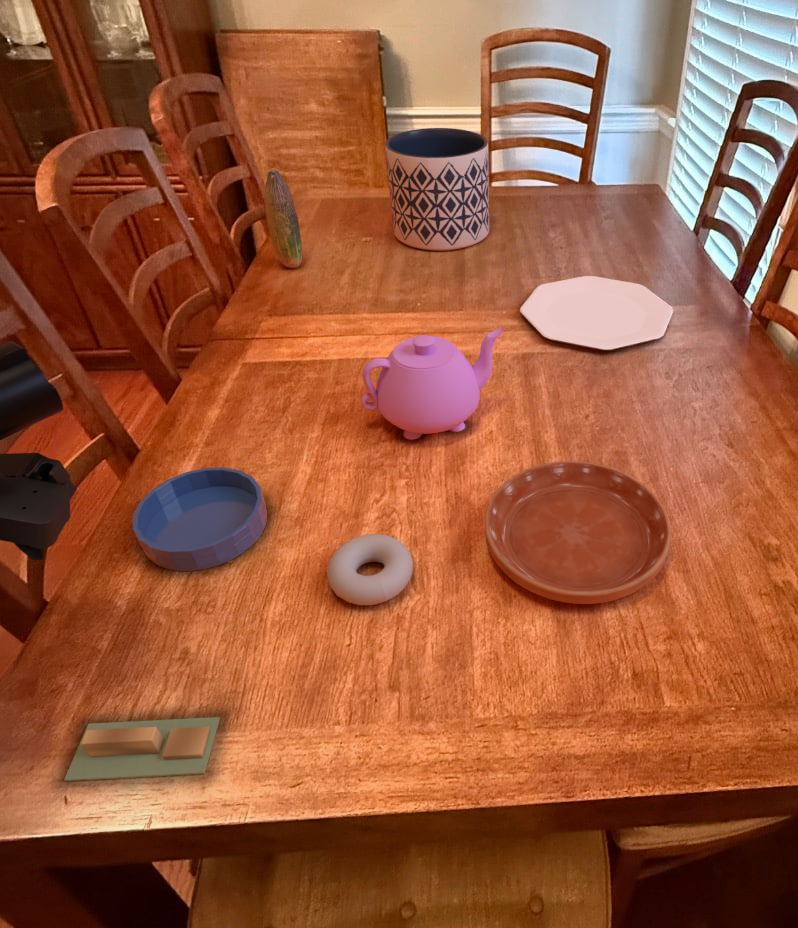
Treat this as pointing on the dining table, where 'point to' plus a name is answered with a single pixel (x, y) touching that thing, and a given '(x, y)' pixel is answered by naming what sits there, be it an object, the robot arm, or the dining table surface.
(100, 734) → the beige slabs
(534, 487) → the saucer
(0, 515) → the robot arm
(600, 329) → the plate
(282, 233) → the vegetable
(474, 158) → the planter
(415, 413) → the teapot
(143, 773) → the mat
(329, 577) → the donut
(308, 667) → the dining table surface
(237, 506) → the bowl
